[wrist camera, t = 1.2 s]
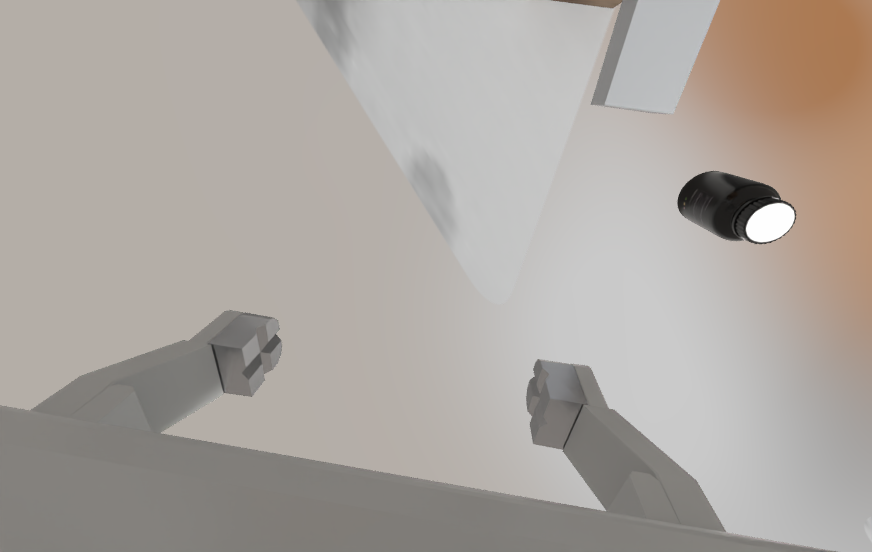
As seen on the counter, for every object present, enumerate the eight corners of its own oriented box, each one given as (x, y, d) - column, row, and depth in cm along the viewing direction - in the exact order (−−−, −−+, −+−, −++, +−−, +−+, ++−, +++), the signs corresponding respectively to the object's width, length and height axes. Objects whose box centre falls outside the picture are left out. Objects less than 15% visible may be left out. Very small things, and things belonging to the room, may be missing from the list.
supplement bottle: (736, 165, 44) (819, 185, 33) (726, 215, 47) (800, 249, 36) (677, 174, 45) (740, 197, 34) (672, 223, 48) (727, 257, 37)
